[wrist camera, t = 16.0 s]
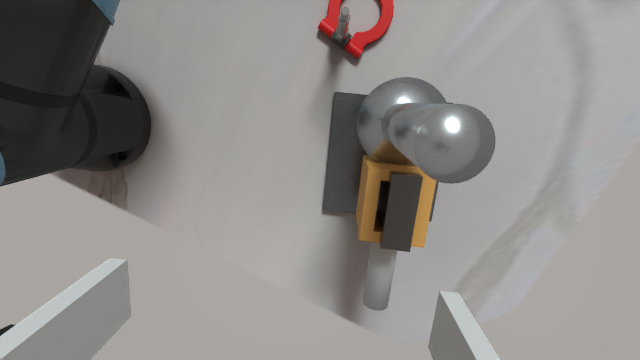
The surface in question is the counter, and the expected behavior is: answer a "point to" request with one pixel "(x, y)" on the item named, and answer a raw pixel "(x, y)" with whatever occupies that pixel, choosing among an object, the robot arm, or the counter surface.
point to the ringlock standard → (403, 138)
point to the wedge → (398, 209)
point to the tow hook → (338, 32)
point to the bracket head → (370, 227)
